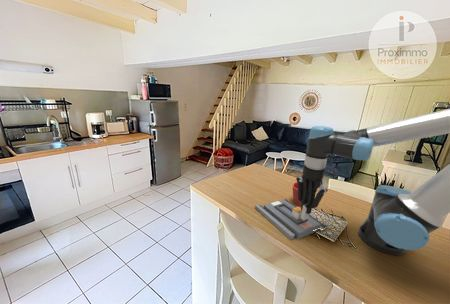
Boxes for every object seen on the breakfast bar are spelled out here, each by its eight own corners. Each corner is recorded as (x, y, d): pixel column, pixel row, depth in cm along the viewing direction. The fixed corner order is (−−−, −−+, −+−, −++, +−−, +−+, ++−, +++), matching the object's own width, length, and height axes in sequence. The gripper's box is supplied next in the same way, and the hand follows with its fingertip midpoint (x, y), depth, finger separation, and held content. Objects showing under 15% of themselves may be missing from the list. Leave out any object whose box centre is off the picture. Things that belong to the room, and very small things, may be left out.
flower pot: (314, 209, 95) (317, 192, 92) (291, 206, 97) (294, 189, 94) (309, 199, 105) (312, 183, 102) (289, 196, 107) (291, 181, 104)
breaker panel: (319, 229, 80) (321, 222, 79) (298, 239, 74) (299, 231, 73) (282, 204, 99) (283, 197, 97) (263, 210, 93) (264, 203, 92)
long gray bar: (325, 229, 80) (326, 225, 80) (321, 231, 79) (322, 227, 79) (285, 202, 101) (285, 199, 100) (281, 203, 99) (281, 200, 99)
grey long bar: (296, 237, 75) (297, 234, 74) (290, 240, 74) (291, 236, 73) (259, 206, 95) (259, 203, 95) (254, 208, 94) (255, 205, 93)
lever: (302, 219, 82) (303, 210, 80) (296, 221, 80) (298, 211, 79) (296, 215, 84) (298, 206, 83) (291, 217, 83) (292, 208, 81)
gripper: (336, 171, 68) (324, 225, 75) (306, 160, 79) (298, 208, 86) (323, 174, 64) (311, 230, 71) (294, 162, 75) (286, 212, 82)
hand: (304, 218), depth 78 cm, fingers closed
